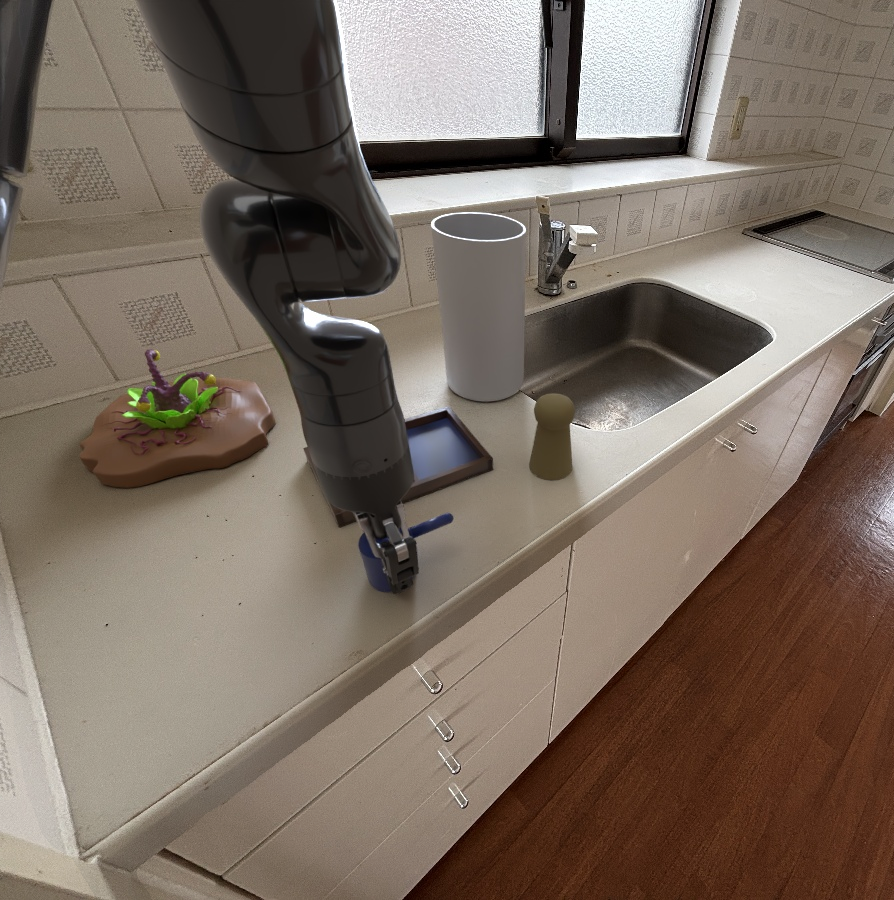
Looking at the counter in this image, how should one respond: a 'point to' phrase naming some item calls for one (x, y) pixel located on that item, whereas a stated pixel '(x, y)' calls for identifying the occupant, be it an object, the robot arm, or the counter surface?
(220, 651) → the counter surface
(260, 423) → the plant
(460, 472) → the tray
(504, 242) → the cylinder vase
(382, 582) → the blue scoop
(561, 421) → the olive pawn figure
